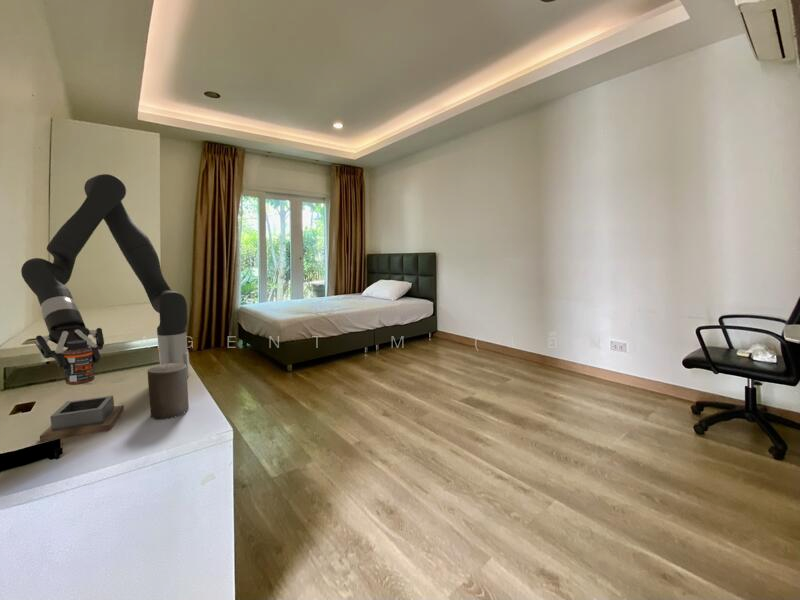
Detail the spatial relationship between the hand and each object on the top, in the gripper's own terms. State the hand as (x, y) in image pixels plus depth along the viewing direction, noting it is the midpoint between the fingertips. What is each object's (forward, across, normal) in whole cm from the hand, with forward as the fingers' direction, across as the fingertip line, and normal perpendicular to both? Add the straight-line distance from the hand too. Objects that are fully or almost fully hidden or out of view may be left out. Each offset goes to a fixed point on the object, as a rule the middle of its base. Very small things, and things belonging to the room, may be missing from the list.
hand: (81, 364), depth 95 cm
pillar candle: (+19, +17, +6) cm, 26 cm away
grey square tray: (+10, 0, +12) cm, 16 cm away
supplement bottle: (+3, 0, +5) cm, 6 cm away
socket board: (+11, 0, +13) cm, 17 cm away
